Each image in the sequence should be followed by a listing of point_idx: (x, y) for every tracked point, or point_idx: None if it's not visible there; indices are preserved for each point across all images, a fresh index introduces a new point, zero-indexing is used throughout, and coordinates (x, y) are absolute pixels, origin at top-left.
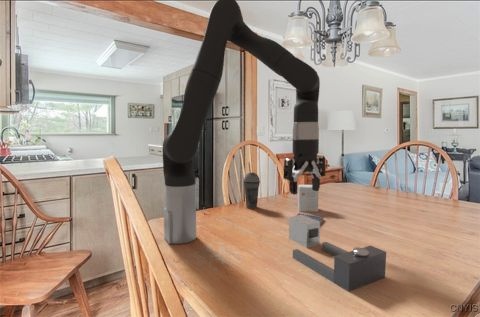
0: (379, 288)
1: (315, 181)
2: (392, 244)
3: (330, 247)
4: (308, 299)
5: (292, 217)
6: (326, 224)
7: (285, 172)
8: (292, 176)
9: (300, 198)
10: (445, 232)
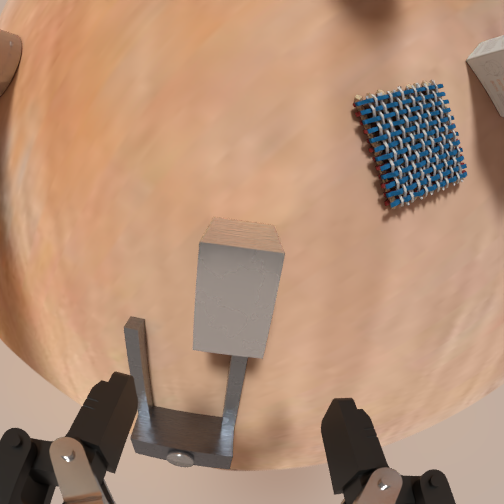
0: None
1: (338, 470)
2: (390, 385)
3: (230, 367)
4: (86, 395)
5: (205, 258)
6: (434, 209)
7: (2, 474)
8: (81, 480)
9: (499, 55)
10: (486, 378)
